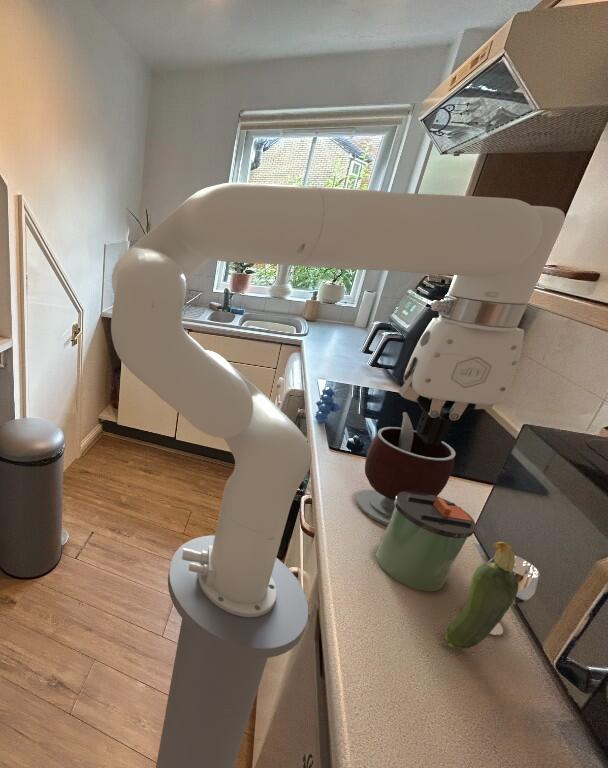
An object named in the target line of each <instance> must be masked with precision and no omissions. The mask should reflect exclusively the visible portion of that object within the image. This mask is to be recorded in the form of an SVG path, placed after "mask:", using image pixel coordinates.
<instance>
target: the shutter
mask: <svg viewBox="0 0 608 768" xmlns="http://www.w3.org/2000/svg"><path fill="white" fill-rule="evenodd" d="M441 498H442V497H440V498H437V499H436V502H435V503H433V505H434V506H435V507H436V509H437V510H438V511H439V512H440V514H441V515H442V516H443V517H448V518H454V519H459V520H465V521H470V522H471V523H472V520H471V518H470V517H469V516H468V515H467V514H466V513H467V512H466V511H465V510H464V509H463V508H462V507H461V506H458V505H456V506H452V505H447V504H446V502H445V501H444V500H443V499H444V498H443V499H441ZM464 511H465V512H466V513H465V512H464Z"/></svg>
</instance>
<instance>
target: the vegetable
mask: <svg viewBox="0 0 608 768" xmlns="http://www.w3.org/2000/svg"><path fill="white" fill-rule="evenodd" d="M493 551H494V552H495V553H494V555H493V557H494V560H495V563H487V562H484V563H482V564H479V565H478V566H476V568H475V570H474V571H473V573H472V576H471V579H470V583H469V587H468V592H467V600H466V603H465V605H464V607H463V609H461V611H460V612H459V613H458V614H457V615H455V617H454V618H453V620H452V621H451V622H450V623H449V624H448V625H447V627H446V629H445V632H444V637H445V641H446V642H447V646H448V647H449V648H451V649H452V648H454V649H462V650H469V649H471V648H474V647H475V646H478V644H480V643H481V642H483V641H484V640H485V639H486V638H487V637H489V635H491V634H490V632H491V631H492V630H493V629H494V627H495V626H496V625H497V624H498V623H500V622H501V620H502V619H503V617H504V616H505V614H506V613H507V612H508V611H509V609H510V607H511V606H512V605H513V604H512V602H513V601H514V599H515V597H516V595H517V592H518V581H517V579H516V577H515V575H514V573H513V572H512V571H513V568H514V564H515V557H514V555H515V552H514V551H513V547H512V546H511V545H510V544H508V543H507V542H505V541H497V542H495V543H493Z"/></svg>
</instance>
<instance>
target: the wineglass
mask: <svg viewBox="0 0 608 768" xmlns="http://www.w3.org/2000/svg"><path fill="white" fill-rule="evenodd" d="M514 557H515V564H514V568H513V571H512V572H513V573H514V575H515V577H516V579H517V581H518V592H517V595H516V597H515V599H514V601H513V602H512V604H511V605H513V606H514V605H516V606H518V605H525V604H527V603H529V602H530V601H531V600H532V599H534V597H535V595H536V593H537V591H538V587H539V582H540V575H541V574H540V571H539V569H538V568H537V567H535V565H533V564H532V563H531V562H529V561H528V560H526V559H524V558H522V557H520V556H518V555H515V554H514ZM486 563H495V560H494V556H492V558H490V559H489V560H488V561H487V562H486ZM503 634H504V628H503V626H502V625H501V623H500V622H499V623H498V624H497V625H496V626H495V627H494V629H493V630H492V631H491V632H490V634H489V635H493V636H501V635H503Z"/></svg>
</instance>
